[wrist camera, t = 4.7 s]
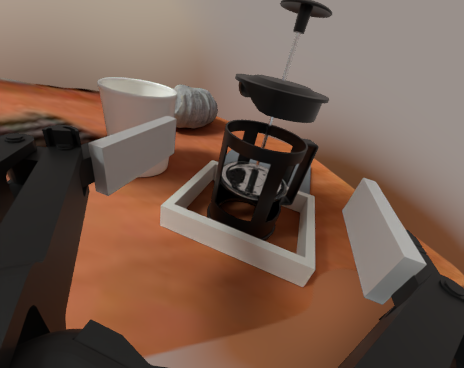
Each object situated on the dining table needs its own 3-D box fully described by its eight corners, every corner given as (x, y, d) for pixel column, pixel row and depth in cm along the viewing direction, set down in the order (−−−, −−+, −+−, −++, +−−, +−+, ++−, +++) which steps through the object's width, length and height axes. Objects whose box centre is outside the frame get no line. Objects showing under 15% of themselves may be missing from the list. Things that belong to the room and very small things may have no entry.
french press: (206, 246, 23) (268, -39, 11) (198, 195, 31) (230, -10, 19) (297, 242, 27) (417, 22, 15) (270, 197, 35) (335, 26, 22)
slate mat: (307, 203, 35) (309, 198, 35) (215, 169, 38) (215, 164, 38) (308, 168, 48) (310, 164, 47) (239, 145, 51) (240, 141, 50)
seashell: (206, 117, 65) (212, 82, 59) (230, 136, 55) (238, 96, 50) (152, 114, 56) (152, 73, 51) (168, 136, 46) (170, 88, 41)
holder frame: (303, 287, 22) (315, 269, 20) (160, 225, 25) (160, 205, 23) (306, 211, 33) (314, 196, 32) (209, 175, 36) (212, 159, 35)
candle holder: (127, 146, 39) (123, 74, 32) (179, 158, 39) (185, 89, 33) (92, 171, 30) (77, 81, 24) (159, 186, 31) (162, 102, 24)
